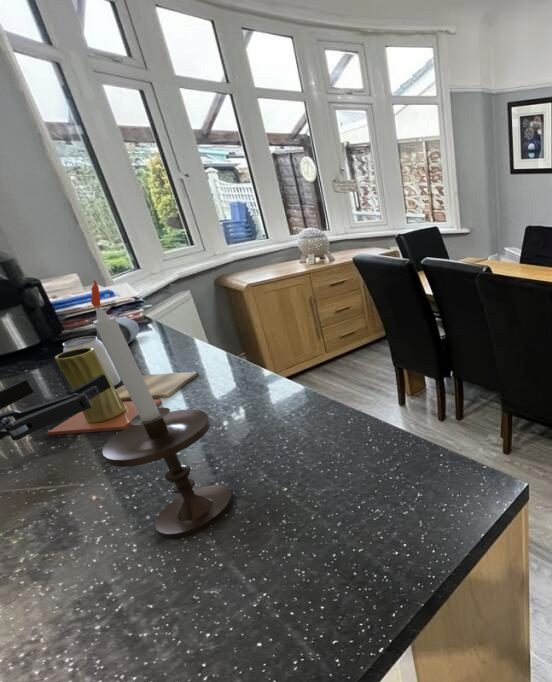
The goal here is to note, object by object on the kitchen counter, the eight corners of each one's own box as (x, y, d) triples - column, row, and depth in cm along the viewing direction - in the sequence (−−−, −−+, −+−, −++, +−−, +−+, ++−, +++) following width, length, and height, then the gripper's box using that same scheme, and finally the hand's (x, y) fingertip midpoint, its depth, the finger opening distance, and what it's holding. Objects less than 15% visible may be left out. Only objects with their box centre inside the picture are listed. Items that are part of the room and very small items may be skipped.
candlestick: (231, 475, 65) (144, 265, 51) (247, 511, 58) (152, 279, 44) (145, 512, 58) (18, 283, 44) (152, 559, 51) (3, 303, 37)
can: (106, 378, 98) (84, 334, 93) (128, 380, 97) (107, 335, 92) (77, 392, 92) (51, 346, 87) (100, 393, 91) (75, 347, 86)
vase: (80, 426, 78) (43, 362, 72) (95, 410, 83) (62, 349, 77) (119, 418, 80) (86, 355, 74) (131, 403, 85) (101, 344, 79)
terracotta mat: (49, 435, 77) (47, 432, 76) (94, 407, 86) (92, 404, 86) (125, 429, 78) (123, 426, 77) (161, 402, 87) (160, 399, 87)
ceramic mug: (145, 335, 124) (134, 312, 121) (136, 344, 118) (124, 320, 114) (101, 342, 120) (89, 319, 117) (90, 352, 113) (76, 328, 110)
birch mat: (101, 402, 88) (100, 399, 87) (139, 378, 98) (138, 375, 97) (168, 397, 89) (166, 394, 88) (198, 374, 99) (197, 371, 98)
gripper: (-156, 488, 55) (6, 405, 75) (36, 471, 57) (145, 395, 77) (-197, 445, 52) (-17, 370, 72) (7, 429, 54) (129, 361, 74)
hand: (67, 383), depth 74 cm, fingers open, 13 cm apart
